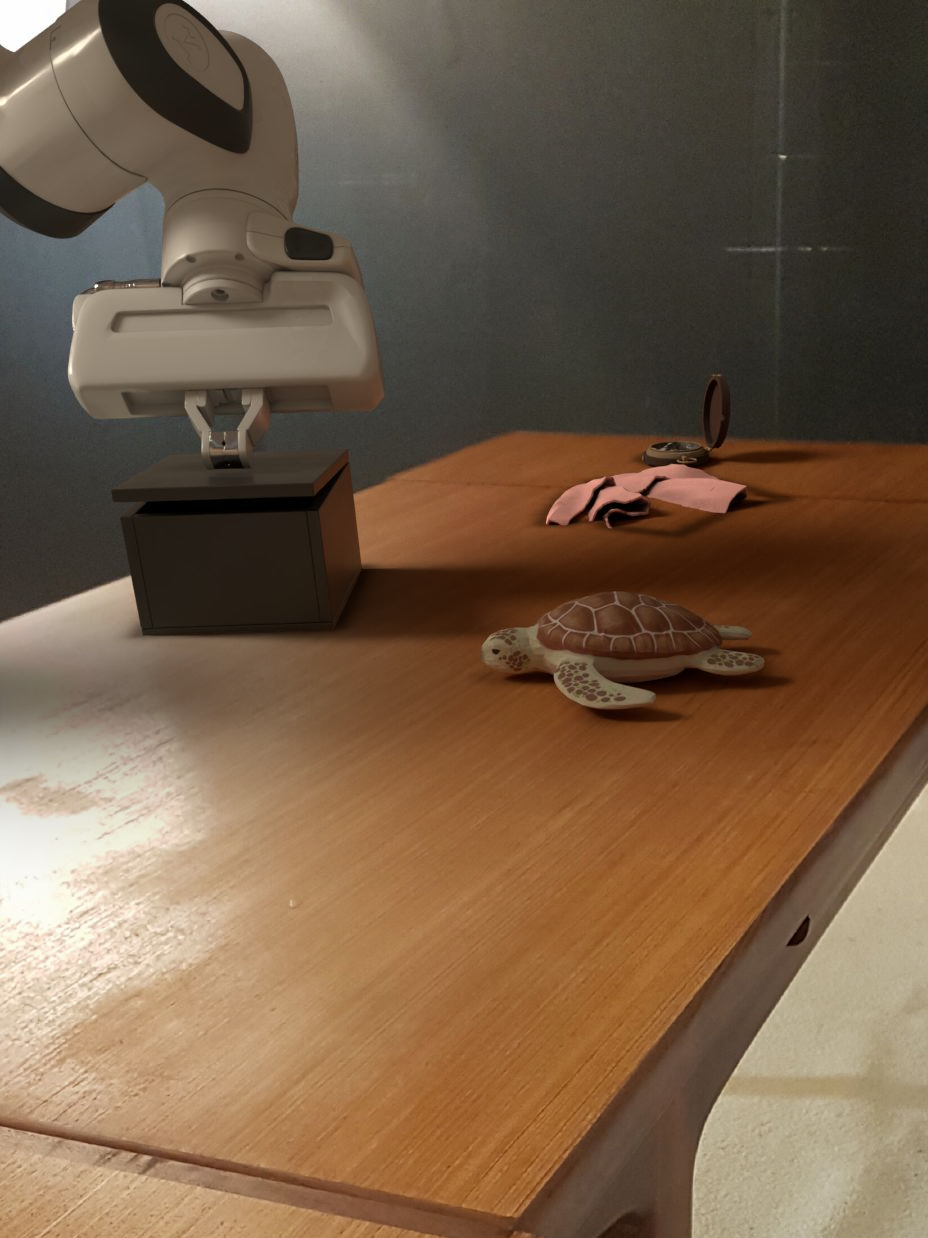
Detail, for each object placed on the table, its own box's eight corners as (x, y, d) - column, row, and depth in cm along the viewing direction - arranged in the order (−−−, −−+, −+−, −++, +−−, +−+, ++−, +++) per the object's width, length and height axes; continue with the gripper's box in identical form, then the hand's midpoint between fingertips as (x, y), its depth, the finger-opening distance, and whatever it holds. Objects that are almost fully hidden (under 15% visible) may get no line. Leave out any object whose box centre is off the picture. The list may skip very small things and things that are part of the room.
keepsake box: (334, 634, 107) (318, 510, 103) (143, 640, 107) (119, 516, 103) (362, 573, 120) (349, 461, 116) (192, 579, 120) (172, 467, 116)
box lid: (314, 496, 101) (312, 482, 101) (112, 502, 101) (110, 489, 101) (349, 460, 116) (348, 448, 115) (172, 466, 116) (170, 454, 115)
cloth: (697, 472, 147) (697, 443, 146) (822, 519, 131) (823, 487, 129) (487, 498, 140) (485, 469, 139) (590, 552, 123) (589, 518, 122)
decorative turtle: (483, 640, 105) (476, 560, 102) (738, 628, 106) (739, 549, 103) (481, 735, 90) (473, 644, 87) (779, 720, 90) (781, 630, 88)
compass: (634, 458, 153) (632, 374, 149) (715, 452, 154) (715, 368, 150) (655, 475, 146) (654, 387, 142) (739, 469, 148) (740, 381, 144)
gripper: (57, 248, 105) (49, 438, 102) (373, 237, 105) (374, 427, 102) (89, 316, 111) (82, 497, 108) (388, 306, 111) (389, 487, 108)
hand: (227, 463), depth 105 cm, fingers closed
